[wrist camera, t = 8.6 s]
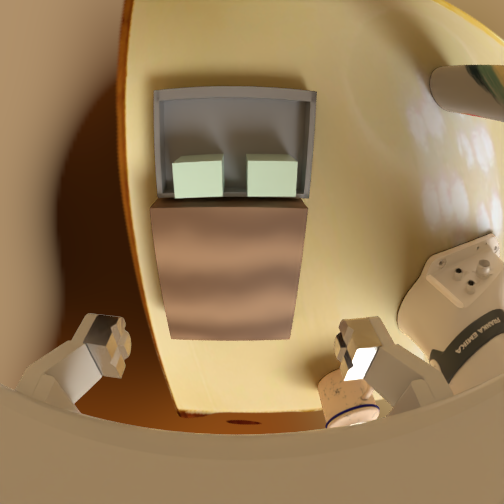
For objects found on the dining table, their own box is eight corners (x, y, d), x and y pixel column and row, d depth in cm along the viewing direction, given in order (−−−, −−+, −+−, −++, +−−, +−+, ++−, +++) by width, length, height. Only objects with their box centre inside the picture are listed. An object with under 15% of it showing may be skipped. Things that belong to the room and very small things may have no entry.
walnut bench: (285, 317, 35) (289, 339, 32) (176, 317, 34) (171, 338, 31) (298, 195, 28) (307, 208, 24) (160, 195, 27) (149, 208, 23)
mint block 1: (222, 196, 22) (221, 160, 21) (174, 198, 22) (172, 163, 21) (224, 184, 26) (223, 153, 25) (183, 186, 26) (181, 155, 24)
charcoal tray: (302, 191, 28) (308, 198, 25) (164, 190, 27) (157, 197, 24) (309, 93, 23) (316, 91, 21) (161, 92, 22) (153, 90, 20)
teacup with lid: (349, 394, 46) (365, 443, 36) (307, 394, 45) (319, 449, 35) (382, 353, 41) (407, 408, 31) (337, 352, 40) (358, 414, 29)
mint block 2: (295, 196, 23) (297, 161, 21) (247, 196, 23) (247, 160, 21) (287, 184, 26) (288, 154, 25) (246, 184, 26) (246, 153, 25)
